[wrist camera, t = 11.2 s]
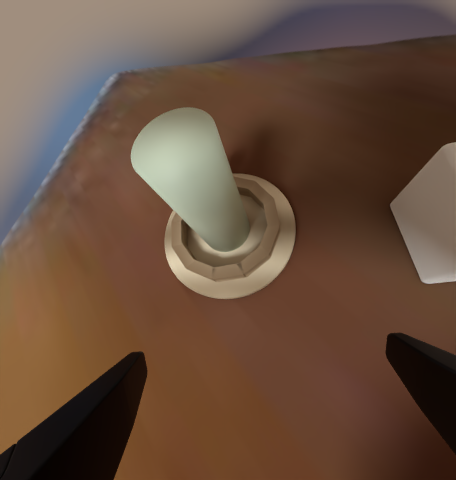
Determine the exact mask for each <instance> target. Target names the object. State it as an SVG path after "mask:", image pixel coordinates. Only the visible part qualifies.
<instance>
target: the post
mask: <svg viewBox="0 0 456 480" xmlns="http://www.w3.org/2000/svg"><path fill="white" fill-rule="evenodd" d="M131 162H132V165H133V168H134V169H135V171H136V172H137V173H138V174H139V175H140V176H141V177H142V178H143V179H144V180H145V181H146V182H147V183H148V184H149V185H150V186H151V187H152V188H153V189H154V190H155V191H156V192H157V193H158V194H159V196H160V197H161V198H162V199H163V200H164V201H165V202H166V203H167V204H168V205H169V206H170V207H171V208H172V209H173V210H174V211H175V212H176V213H177V214H178V215H179V216H180V217H181V218H182V219H183V220H184V221H185V222H186V223H187V224H188V225H189V226H190V227H191V228H192V229H193V230H194V231H195V232H196V233H197V234H198V235H199V236H200V237H201V238H202V239H203V240H204V241H205V242H206V243H207V244H208V245H209V246H210V247H211V248H212V249H214V250H216V251H219V252H230V251H233V250H236V249H237V248H239V247H240V246H242V245H243V244H244V242H245V241H246V240H247V238H248V236H249V232H250V224H249V221H248V218H247V215H246V212H245V209H244V206H243V203H242V200H241V197H240V194H239V192H238V189H237V186H236V183H235V180H234V177H233V174H232V171H231V168H230V165H229V162H228V160H227V157H226V154H225V151H224V148H223V145H222V142H221V139H220V136H219V133H218V130H217V128H216V125H215V122H214V120H213V119H212V117H211V116H210V115H209V114H208V113H206V112H205V111H203V110H200V109H197V108H179V109H174V110H171V111H168V112H166V113H164V114H162V115H160V116H158V117H157V118H155V119H154V120H152V121H151V122H150V123H149V124H148V125H146V126H145V127H144V129H143V130H142V131H141V132H140V133H139V135H138V136H137V138H136V140H135V142H134V144H133V147H132V151H131Z"/></svg>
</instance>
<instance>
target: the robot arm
mask: <svg viewBox="0 0 456 480" xmlns="http://www.w3.org/2000/svg"><path fill="white" fill-rule="evenodd" d="M386 356H387V359H388V361H389V362H390V364H391V365H392V367H393V368H394V370H395V371H396V373H397V375H398V376H399V378H400V379H401V381H402V382H403V384H404V385H405V387H406V388H407V390H408V391H409V393H410V394H411V396H412V397H413V399H414V400H415V402H416V403H417V405H418V406H419V407H420V409H421V410H422V412H423V413H424V414H425V416H426V417H427V418H428V419H429V421H430V422H431V423H432V425H433V426H434V427H435V429H436V430H437V431H438V432H439V434H440V435H441V436H442V438H443V439H444V440H445V442H446V443H447V444H448V445H449V447H450V448H451V449H452V451H453V452H454V453H455V455H456V355H454V354H451V353H449V352H446V351H444V350H442V349H439V348H437V347H434V346H432V345H430V344H427V343H425V342H422V341H420V340H418V339H415V338H413V337H410V336H408V335H406V334H403V333H390V334H388V336H387V344H386ZM146 378H147V366H146V361H145V356H144V353H143V352H141V351H140V352H131V353H130V354H128V355H127V356H126V357H125V358H123V359H122V360H121V361H120V362H118V363H117V364H116V365H114V366H113V367H112V368H111V369H109V370H108V371H107V372H105V373H104V374H103V375H102V376H100V377H99V378H98V379H96V380H95V381H94V382H93V383H91V384H90V385H89V386H88V387H86V388H85V389H84V390H82V391H81V392H80V393H79V394H77V395H76V396H75V397H73V398H72V399H71V400H70V401H68V402H67V403H66V404H65V405H63V406H62V407H61V408H59V409H58V410H57V411H56V412H54V413H53V414H52V415H50V416H49V417H48V418H47V419H45V420H44V421H43V422H41V423H40V424H39V425H38V426H36V427H35V428H34V429H33V430H31V431H30V432H29V433H27V434H26V435H25V436H24V437H22V438H21V439H20V440H19V441H18V442H17V444H13V445H12V446H11V447H9V448H8V449H7V450H6V451H4V452H3V453H2V454H0V480H114V477H115V474H116V472H117V469H118V466H119V464H120V461H121V458H122V455H123V453H124V450H125V447H126V445H127V442H128V439H129V436H130V434H131V431H132V428H133V425H134V422H135V418H136V415H137V411H138V407H139V404H140V400H141V396H142V393H143V389H144V385H145V382H146Z"/></svg>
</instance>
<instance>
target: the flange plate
mask: <svg viewBox="0 0 456 480" xmlns="http://www.w3.org/2000/svg"><path fill="white" fill-rule="evenodd" d="M233 177H234V180H235V183H236V186H237V189H238V192H239V194H240V197H241V200H242V203H243V206H244V209H245V212H246V215H247V218H248V221H249V224H250V232H249V236H248V238H247V240H246V241H245V242H244V244H243V245H242V246H240V247H239V248H237V249H236V250H233V251H230V252H219V251H216V250H214V249H212V248H211V247H210V246H209V245H208V244H207V243H206V242H205V241H204V240H203V239H202V238H201V237H200V236H199V235H198V234H197V233H196V232H195V231H194V230H193V229H192V228H191V227H190V226H189V225H188V224H187V223H186V222H185V221H184V220H183V219H182V218H181V217H180V216H179V215H178V214H177V213H176V212H175V211H174V210H173V212H172V214H171V216H170V218H169V221H168V224H167V227H166V232H165V252H166V257H167V260H168V263H169V265H170V267H171V269H172V271H173V272H174V274H175V275H176V277H177V278H178V279H179V280H180V281H181V282H182V283H183V284H184V285H186V286H187V287H188V288H190V289H191V290H193V291H195V292H197V293H199V294H202V295H205V296H208V297H212V298H216V299H237V298H241V297H246V296H248V295H251V294H254V293H256V292H258V291H260V290H262V289H263V288H265V287H266V286H268V285H269V284H270V283H271V282H273V281H274V280H275V279H276V278H277V277H278V276H279V274H280V273H281V272H282V271H283V269H284V268H285V266H286V265H287V263H288V261H289V259H290V256H291V254H292V251H293V247H294V242H295V234H296V225H295V218H294V214H293V211H292V208H291V206H290V204H289V202H288V200H287V199H286V197H285V196H284V195H283V193H282V192H281V191H280V190H279V189H278V188H276V187H275V186H274V185H272V184H271V183H269V182H268V181H266V180H264V179H262V178H259V177H256V176H253V175H248V174H233Z"/></svg>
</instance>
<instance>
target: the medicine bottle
mask: <svg viewBox="0 0 456 480" xmlns="http://www.w3.org/2000/svg"><path fill="white" fill-rule="evenodd" d="M390 208H391V210H392V213H393V215H394V217H395V220H396V222H397V224H398V227H399V229H400V232H401V234H402V236H403V239H404V241H405V244H406V246H407V248H408V251H409V253H410V255H411V258H412V260H413V263H414V265H415V267H416V270H417V272H418V275H419V277H420V279H421V281H422V282H424V283H428V284H431V283H441V282H451V281H456V142H454V143H449V144H446V145H444V146H443V147H441V149H440V150H439V151H438V152H437V153H436V154H435V155H434V156H433V157H432V158H431V159H430V161H429V162H428V163H427V164H426V165H425V166H424V167H423V168H422V169H421V170H420V172H419V173H418V174H417V175H416V176H415V177H414V178H413V179H412V180H411V181H410V183H409V184H408V185H407V186H406V187H405V188H404V189H403V190H402V191H401V192H400V193H399V195H398V196H397V197H396V198H395V199H394V200H393V201H392V202H391V204H390Z"/></svg>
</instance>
